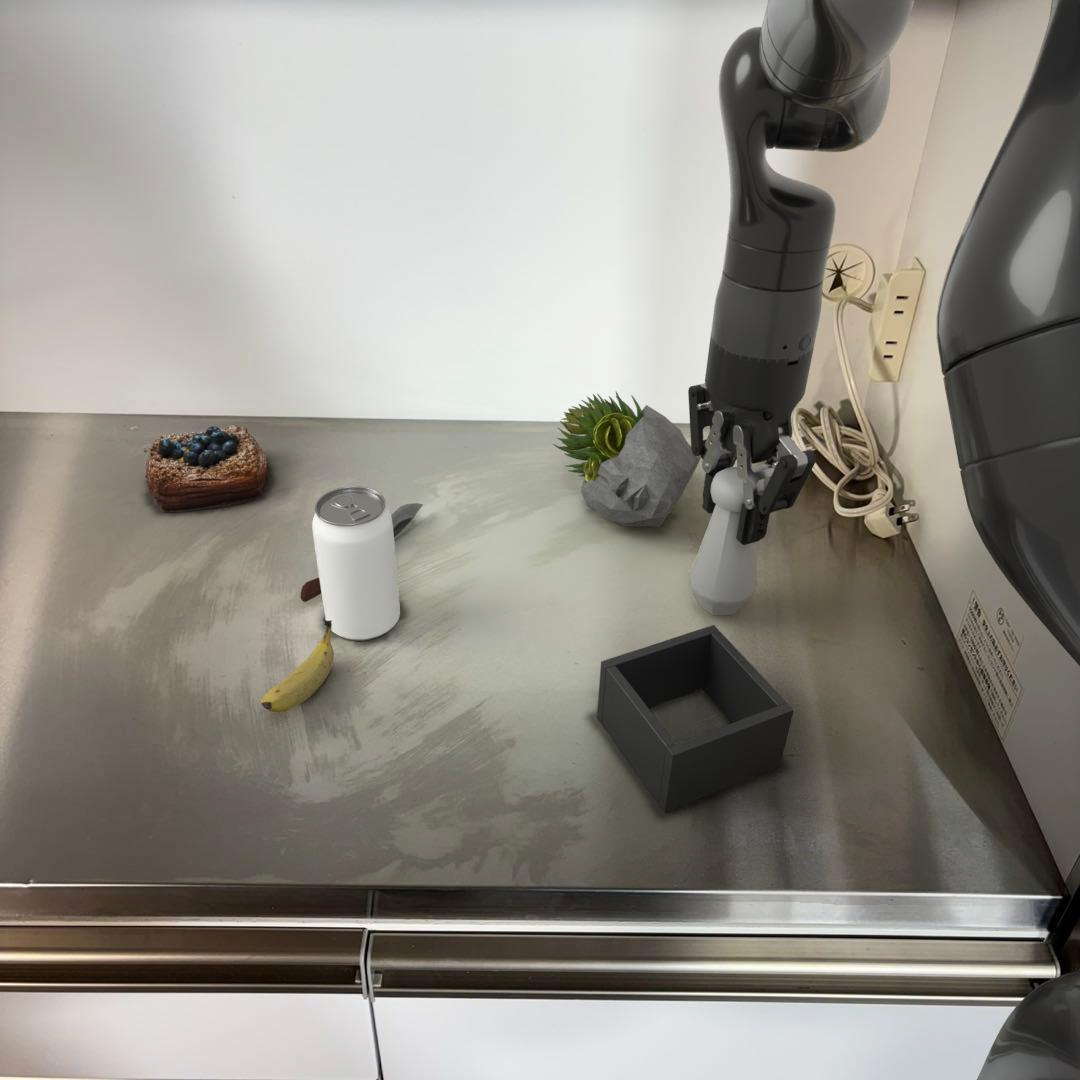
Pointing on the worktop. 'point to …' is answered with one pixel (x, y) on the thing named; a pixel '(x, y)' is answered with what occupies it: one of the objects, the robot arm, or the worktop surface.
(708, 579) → the salt shaker
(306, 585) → the knife
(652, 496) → the potted plant
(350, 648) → the worktop surface
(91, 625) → the worktop surface
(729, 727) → the holder
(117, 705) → the worktop surface
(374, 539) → the can
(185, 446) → the pastry
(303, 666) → the banana
